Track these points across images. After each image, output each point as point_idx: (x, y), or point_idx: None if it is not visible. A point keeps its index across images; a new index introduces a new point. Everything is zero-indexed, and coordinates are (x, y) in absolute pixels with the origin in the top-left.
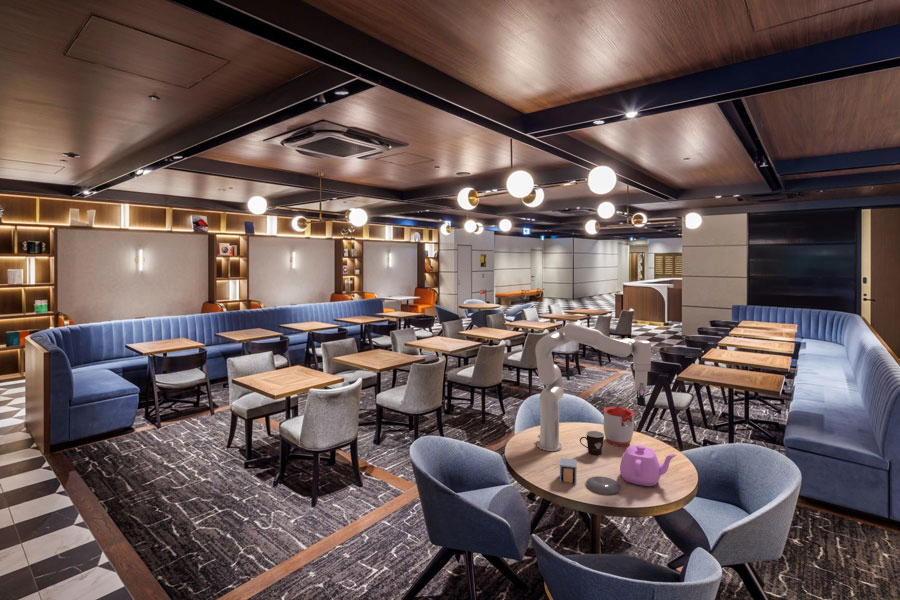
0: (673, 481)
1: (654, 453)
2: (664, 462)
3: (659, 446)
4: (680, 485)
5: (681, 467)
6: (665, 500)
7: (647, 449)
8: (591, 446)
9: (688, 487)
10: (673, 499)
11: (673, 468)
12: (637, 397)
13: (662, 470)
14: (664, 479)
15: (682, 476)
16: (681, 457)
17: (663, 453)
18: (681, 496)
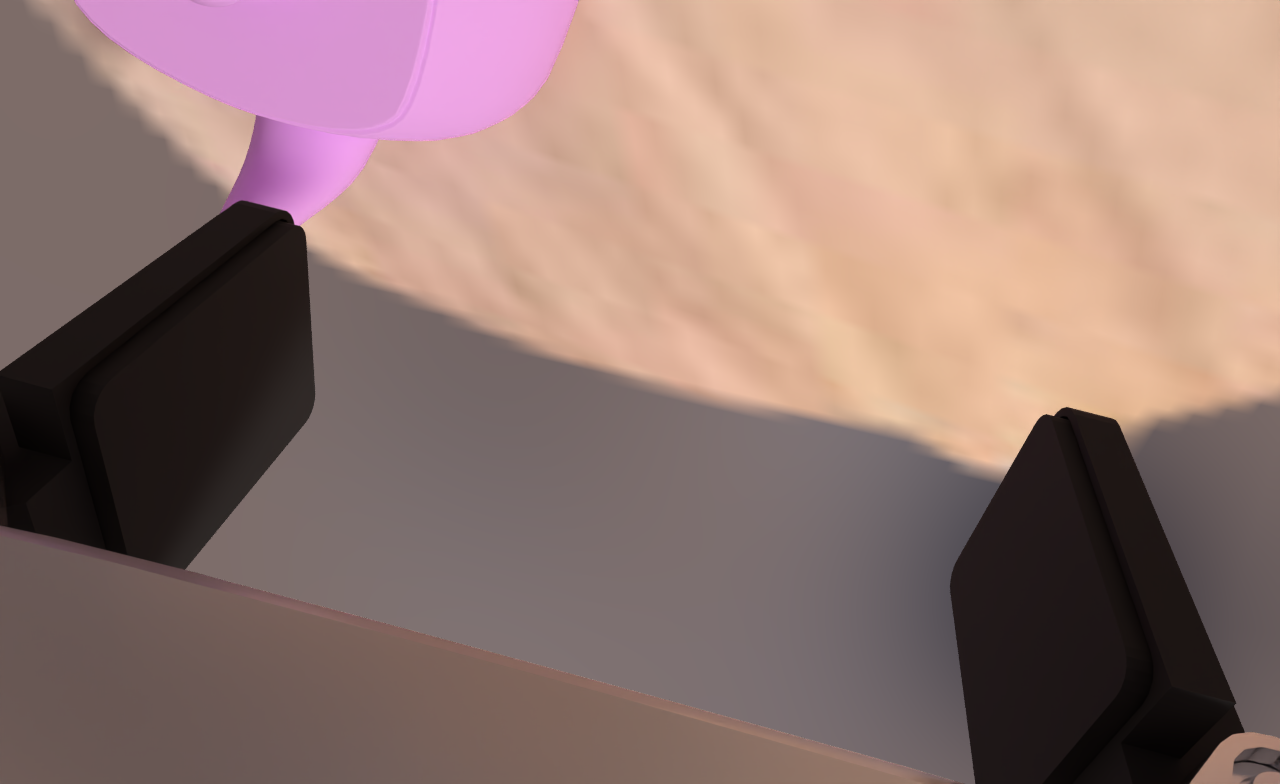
0: (453, 202)
1: (245, 107)
2: (259, 176)
3: (1265, 347)
4: (398, 232)
5: (744, 362)
6: (87, 20)
7: (347, 51)
8: None
9: (384, 278)
10: (137, 94)
11: (714, 292)
12: (74, 358)
13: (255, 120)
14: (470, 138)
15: (568, 306)
16: (959, 438)
17: (1066, 323)
18: (215, 174)
